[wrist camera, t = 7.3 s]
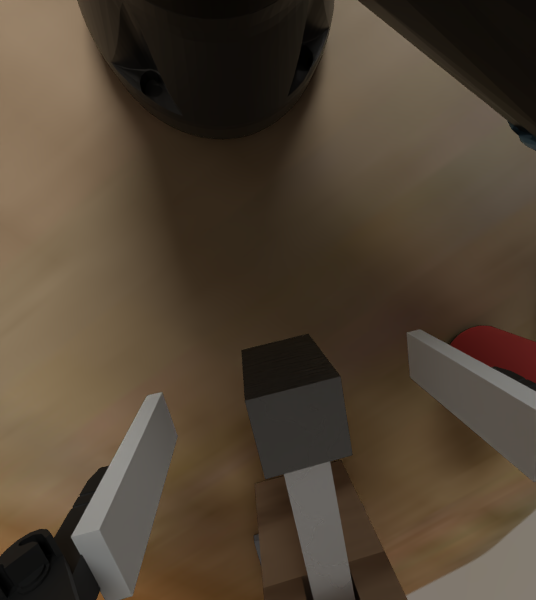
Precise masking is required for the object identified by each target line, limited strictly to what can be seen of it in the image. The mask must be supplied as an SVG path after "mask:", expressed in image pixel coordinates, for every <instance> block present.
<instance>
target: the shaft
mask: <svg viewBox="0 0 536 600" xmlns="http://www.w3.org/2000/svg"><path fill="white" fill-rule="evenodd" d="M242 365H243V380H244V395H245V403H246V407H247V411H248V415H249V419H250V422H251V426H252V430H253V434H254V438H255V442H256V445H257V449H258V453H259V457H260V461H261V465H262V468H263V472H264V476H265V479H268V478H272V477H275V476H279V475H283V474H284V477H285V481H286V486H287V490H288V494H289V498H290V503H291V507H292V511H293V515H294V519H295V524H296V528H297V532H298V536H299V540H300V545H301V549H302V553H303V557H304V561H305V566H306V570H307V574H308V578H309V582H310V587H311V591H312V595H313V599H314V600H355V596H354V591H353V585H352V580H351V574H350V569H349V563H348V558H347V552H346V547H345V541H344V536H343V530H342V525H341V519H340V514H339V508H338V503H337V497H336V492H335V486H334V481H333V475H332V470H331V464H330V461H333V460H337V459H340V458H344V457H348V456H351V455H352V448H351V442H350V435H349V429H348V422H347V416H346V409H345V403H344V396H343V390H342V384H341V377H340V375H339V374H338V373H337V371H336V370H335V369H334V367H333V366H332V365H331V363H330V362H329V361H328V359H327V358H326V357H325V355H324V354H323V353H322V351H321V350H320V349H319V347H318V346H317V345H316V343H315V342H314V341H313V339H312V338H311V337H310V335H309V334H306V335H301V336H297V337H293V338H289V339H285V340H281V341H277V342H273V343H269V344H264V345H260V346H256V347H252V348H248V349H244V350H242Z"/></svg>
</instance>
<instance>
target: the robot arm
mask: <svg viewBox="0 0 536 600" xmlns="http://www.w3.org/2000/svg"><path fill="white" fill-rule="evenodd" d="M77 1H78V4H79V7H80V10H81V13H82V15H83V18H84V20H85V23H86V25H87V27H88V29H89V31H90V33H91V35H92V38H93V40H94V42H95V43H96V45H97V47H98V49H99V51H100V52H101V54H102V55H103V57H104V59H105V60H106V62H107V63H108V64H109V66H110V67H111V68H112V70H113V71H114V73H115V74H116V75H117V77H118V78H119V79H120V81H121V82H122V84H123V85H124V86H125V87H126V89H127V90H128V91H129V92H130V94H131V95H132V96H133V97H134V98H135V99H136V100H137V101H138V102H139V103H140V104H141V105H142V106H143V107H144V108H146V109H147V110H148V111H149V112H150V113H152V114H153V115H154V116H156V117H157V118H159V119H160V120H162V121H163V122H165V123H166V124H168V125H170V126H172V127H174V128H176V129H178V130H181V131H183V132H186V133H189V134H192V135H195V136H199V137H205V138H212V139H231V138H238V137H243V136H247V135H250V134H253V133H256V132H258V131H260V130H262V129H264V128H266V127H268V126H270V125H271V124H273V123H274V122H276V121H277V120H278V119H280V118H281V117H282V116H283V115H284V114H286V113H287V112H288V111H289V110H290V109H291V108H292V107H293V105H294V104H295V103H296V102H297V100H298V99H299V98H300V96H301V95H302V94H303V92H304V90H305V89H306V87H307V85H308V83H309V81H310V79H311V77H312V75H313V73H314V71H315V69H316V67H317V65H318V63H319V61H320V58H321V56H322V54H323V51H324V48H325V45H326V42H327V38H328V35H329V31H330V26H331V21H332V16H333V9H334V0H77ZM358 1H359V2H360V3H362V4H363V5H364V6H365V7H367V8H368V9H369V10H370V11H372V12H373V13H374V14H375V15H377V16H378V17H379V18H380V19H382V20H383V21H384V22H385V23H387V24H388V25H389V26H390V27H392V28H393V29H394V30H395V31H397V32H398V33H399V34H400V35H402V36H403V37H404V38H405V39H407V40H408V41H409V42H410V43H412V44H413V45H414V46H415V47H417V48H418V49H419V50H420V51H422V52H423V53H424V54H425V55H427V56H428V57H429V58H430V59H432V60H433V61H434V62H435V63H437V64H438V65H439V66H440V67H442V68H443V69H444V70H445V71H447V72H448V73H449V74H450V75H452V76H453V77H454V78H455V79H457V80H458V81H459V82H460V83H462V84H463V85H464V86H465V87H467V88H468V89H469V90H470V91H472V92H473V93H474V94H475V95H477V96H478V97H479V98H480V99H481V100H483V101H484V102H485V103H486V104H488V105H489V106H490V107H491V108H493V109H494V110H495V111H496V112H498V113H499V114H500V115H501V116H503V117H504V118H505V119H506V120H507V121H508V123H509V125H510V127H511V129H512V130H513V131H514V132H515V133H516V134H517V135H519V138H520V140H521V142H523V143H524V144H525V145H526V146H527V147H529V148H531V149H533V150H535V151H536V0H358ZM407 345H408V359H409V372H410V378H411V379H412V380H414V381H415V382H416V383H417V384H418V385H419V386H421V387H422V388H423V389H424V390H425V391H427V392H428V393H429V394H430V395H431V396H432V397H434V398H435V399H436V400H437V401H438V402H440V403H441V404H442V405H443V406H444V407H446V408H447V409H448V410H449V411H450V412H451V413H453V414H454V415H455V416H456V417H457V418H459V419H460V420H461V421H462V422H463V423H464V424H466V425H467V426H468V427H469V428H470V429H472V430H473V431H474V432H475V433H476V434H477V435H479V436H480V437H481V438H482V439H483V440H485V441H486V442H487V443H488V444H489V445H491V446H492V447H493V448H494V449H495V450H496V451H498V452H499V453H500V454H501V455H502V456H504V457H505V458H506V459H507V460H508V461H509V462H511V463H512V464H513V465H514V466H515V467H517V468H518V469H519V470H520V471H521V472H522V473H524V474H525V475H526V476H527V477H528V478H530V479H531V480H532V481H533V482H536V383H534V382H532V381H530V380H528V379H527V380H526V379H525V378H524V377H522V376H520V375H518V374H516V373H514V372H512V371H510V370H506V369H503V368H500V367H496V366H494V367H489V366H488V365H486V364H484V363H482V362H480V361H478V360H476V359H475V358H473V357H471V356H469V355H467V354H465V353H463V352H462V351H460V350H458V349H456V348H454V347H452V346H450V345H448V344H447V343H445V342H443V341H441V340H439V339H437V338H435V337H434V336H432V335H430V334H428V333H426V332H424V331H422V330H420V329H419V330H415V331H411V332H407ZM177 437H178V435H177V433H176V430H175V427H174V424H173V421H172V418H171V416H170V413H169V410H168V407H167V404H166V401H165V399H164V396H163V393H162V392H160V393H155V394H151V395H147V397H146V398H145V400H144V402H143V404H142V406H141V408H140V410H139V411H138V413H137V415H136V417H135V419H134V421H133V423H132V424H131V426H130V428H129V430H128V432H127V434H126V436H125V437H124V439H123V441H122V443H121V445H120V447H119V449H118V450H117V452H116V454H115V456H114V458H113V460H112V462H111V463H110V465H109V466H106V467H102V468H99V469H98V471H97V472H96V473H95V474H94V475H93V476H92V477H91V478H90V479H89V480H88V481H87V483H86V485H85V486H84V488H83V490H82V491H81V493H80V497H78V498H77V500H76V502H75V503H74V505H73V509H71V510H70V512H69V513H68V515H67V517H66V518H65V520H64V522H63V524H62V525H61V527H60V529H59V530H58V532H57V534H56V535H55V537H54V538H53V536H52V535H51V533H50V532H49V531H48V530H47V529H39V530H36V531H33V532H31V533H29V534H27V535H25V536H24V537H22V538H20V539H19V540H17V541H16V542H15V543H14V544H13V545H11V546H10V547H9V548H8V549H7V550H6V551H5V552H4V553H3V554H2V555H1V556H0V600H96V599H97V596H98V594H99V591H100V592H101V594H102V595H103V597H104V599H105V600H120V599H124V598H127V597H131V596H133V593H134V589H135V585H136V582H137V578H138V575H139V571H140V568H141V564H142V561H143V557H144V554H145V550H146V547H147V543H148V539H149V536H150V532H151V529H152V525H153V522H154V518H155V515H156V511H157V508H158V504H159V501H160V497H161V494H162V490H163V486H164V483H165V479H166V476H167V472H168V469H169V465H170V462H171V458H172V455H173V451H174V448H175V444H176V441H177Z"/></svg>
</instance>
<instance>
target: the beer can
mask: <svg viewBox="0 0 536 600" xmlns="http://www.w3.org/2000/svg"><path fill="white" fill-rule="evenodd" d="M450 346H452V347H454V348H456V349H458V350H460V351H462V352H463V353H465V354H467V355H469V356H471V357H473V358H475V359H476V360H478V361H480V362H482V363H484V364H486V365H488V366H489V367H494V366H496V367H500V368H503V369H506V370H510V371H512V372H514V373H516V374H518V375H520V376H522V377H524V378H525V379H526V380H527V379H528V380H530V381H532V382H534V383H536V342H534V341H531V340H528V339H525V338H523V337H520V336H517V335H514V334H511V333H509V332H506V331H503V330H500V329H497V328H494V327H492V326H476V327H472V328H469V329H467V330H465V331H464V332H462V333H460V334H459V335H458V336H457V337H456V338H455V339H454V340H453V341H452V342H451V344H450Z"/></svg>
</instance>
